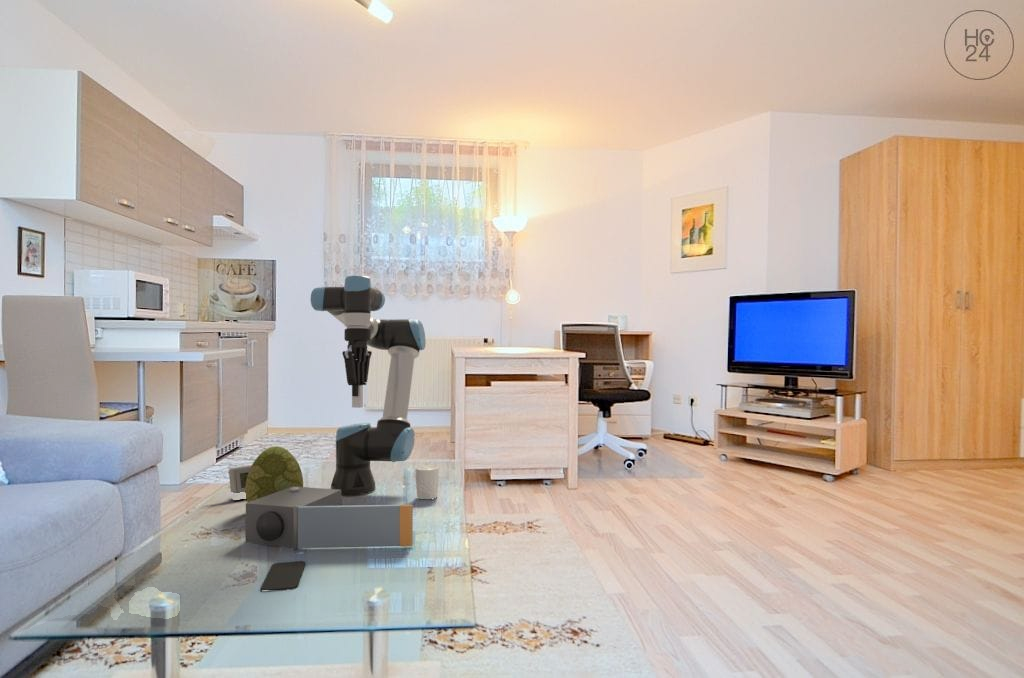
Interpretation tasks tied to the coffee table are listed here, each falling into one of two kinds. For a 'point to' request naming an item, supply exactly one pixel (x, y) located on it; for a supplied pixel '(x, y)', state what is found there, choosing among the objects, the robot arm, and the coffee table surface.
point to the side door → (353, 526)
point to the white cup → (427, 481)
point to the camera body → (283, 513)
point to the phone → (284, 576)
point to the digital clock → (238, 478)
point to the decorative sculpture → (272, 473)
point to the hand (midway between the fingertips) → (357, 407)
